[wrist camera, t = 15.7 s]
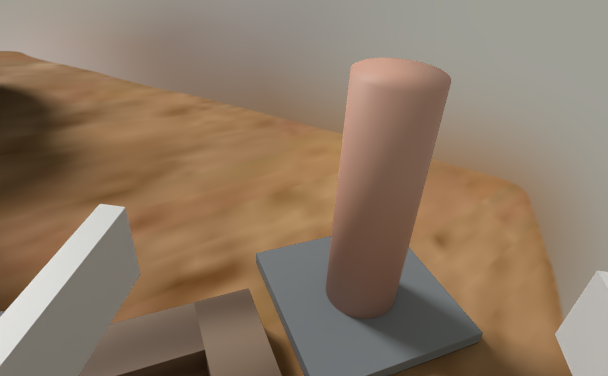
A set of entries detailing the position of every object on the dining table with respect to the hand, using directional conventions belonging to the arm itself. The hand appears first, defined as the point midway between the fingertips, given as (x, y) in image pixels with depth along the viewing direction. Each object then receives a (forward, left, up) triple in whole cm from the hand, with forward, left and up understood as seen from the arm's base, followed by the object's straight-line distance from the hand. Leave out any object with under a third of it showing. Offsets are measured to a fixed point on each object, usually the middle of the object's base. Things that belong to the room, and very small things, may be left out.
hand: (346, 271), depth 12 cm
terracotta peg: (-10, +8, -14) cm, 19 cm away
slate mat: (-10, +8, -15) cm, 20 cm away
